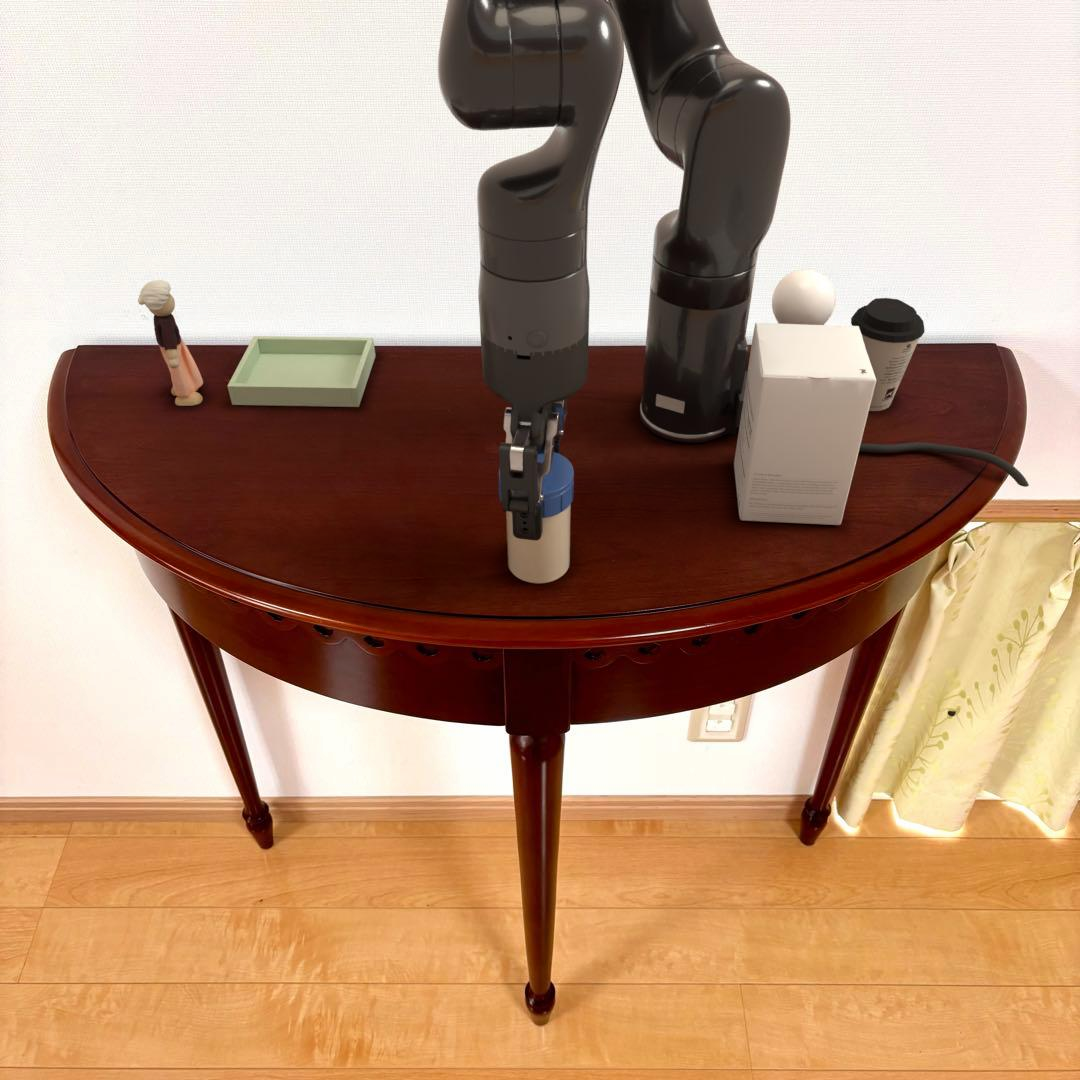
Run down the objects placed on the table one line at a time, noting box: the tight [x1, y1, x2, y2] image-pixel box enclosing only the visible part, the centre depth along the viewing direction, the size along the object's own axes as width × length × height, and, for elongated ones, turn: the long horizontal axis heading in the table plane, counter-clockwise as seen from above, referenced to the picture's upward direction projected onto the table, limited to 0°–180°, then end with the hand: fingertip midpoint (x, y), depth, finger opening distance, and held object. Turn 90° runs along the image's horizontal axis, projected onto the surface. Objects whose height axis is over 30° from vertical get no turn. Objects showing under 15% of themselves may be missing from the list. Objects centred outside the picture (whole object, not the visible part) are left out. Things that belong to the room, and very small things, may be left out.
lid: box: [498, 452, 575, 518], centre depth 75 cm, size 6×6×2 cm
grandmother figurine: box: [137, 279, 204, 407], centre depth 96 cm, size 8×4×13 cm, turn 34°
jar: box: [505, 503, 572, 584], centre depth 78 cm, size 5×5×9 cm
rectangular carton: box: [733, 321, 876, 526], centre depth 82 cm, size 9×9×15 cm
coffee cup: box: [850, 297, 926, 412], centre depth 96 cm, size 7×7×10 cm
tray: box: [226, 335, 377, 408], centre depth 102 cm, size 13×10×2 cm
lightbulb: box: [771, 268, 837, 325], centre depth 100 cm, size 6×6×11 cm
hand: (537, 506), depth 77 cm, fingers open, 7 cm apart
